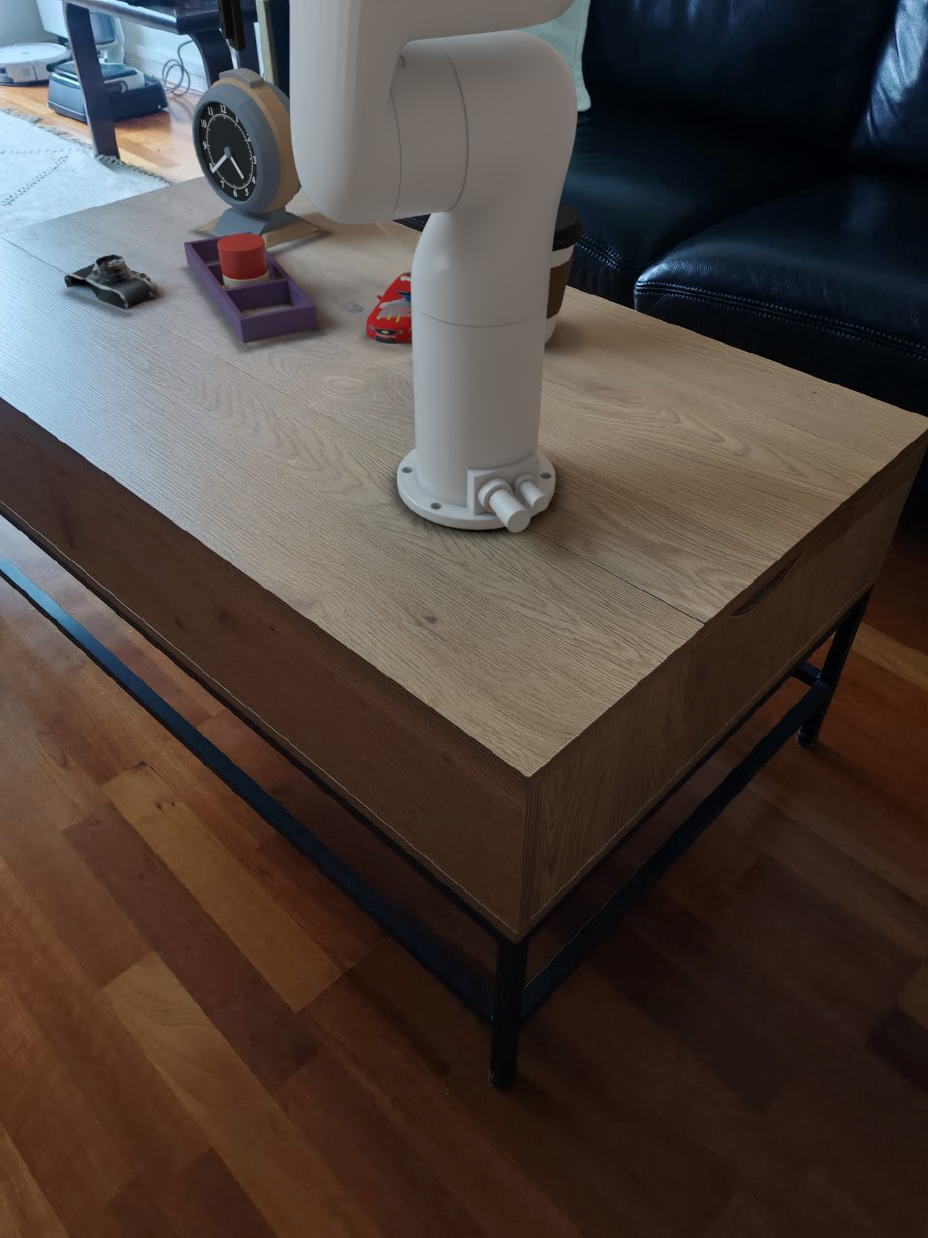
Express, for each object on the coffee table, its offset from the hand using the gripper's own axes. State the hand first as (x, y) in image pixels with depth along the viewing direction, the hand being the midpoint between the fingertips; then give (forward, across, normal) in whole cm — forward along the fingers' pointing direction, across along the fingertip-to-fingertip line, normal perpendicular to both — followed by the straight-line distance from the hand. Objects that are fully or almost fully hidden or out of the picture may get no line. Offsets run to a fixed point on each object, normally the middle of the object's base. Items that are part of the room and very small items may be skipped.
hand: (289, 42), depth 87 cm
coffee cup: (+24, +16, -16) cm, 33 cm away
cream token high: (+22, -6, +4) cm, 24 cm away
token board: (+24, -6, +4) cm, 25 cm away
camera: (+24, -19, +11) cm, 33 cm away
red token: (+21, -6, +4) cm, 22 cm away
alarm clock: (+24, +1, +22) cm, 33 cm away
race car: (+24, +7, -8) cm, 27 cm away
